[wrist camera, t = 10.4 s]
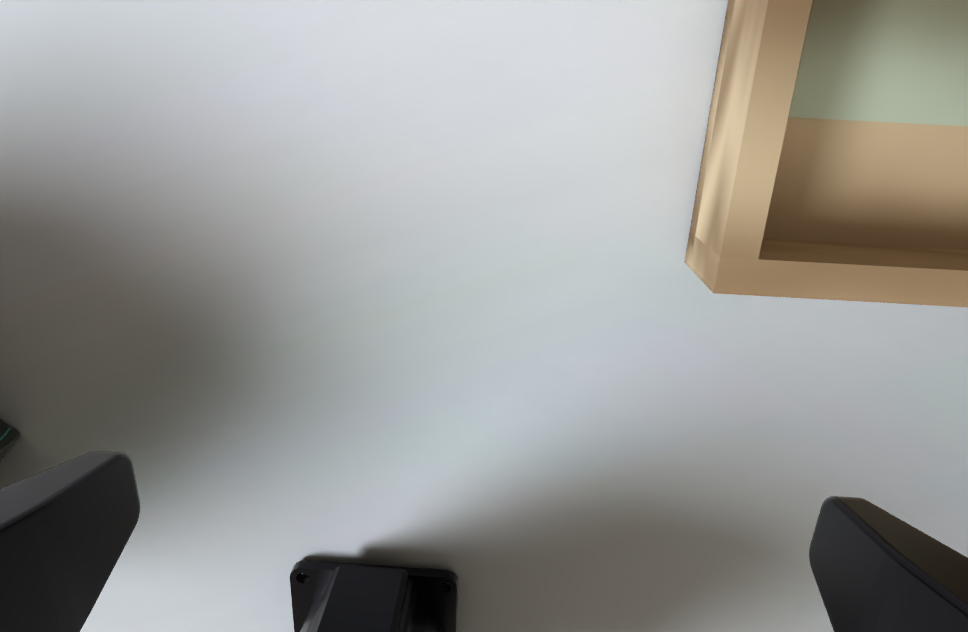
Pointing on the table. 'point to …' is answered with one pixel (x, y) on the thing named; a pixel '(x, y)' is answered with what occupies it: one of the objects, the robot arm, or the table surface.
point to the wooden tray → (837, 153)
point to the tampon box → (6, 438)
